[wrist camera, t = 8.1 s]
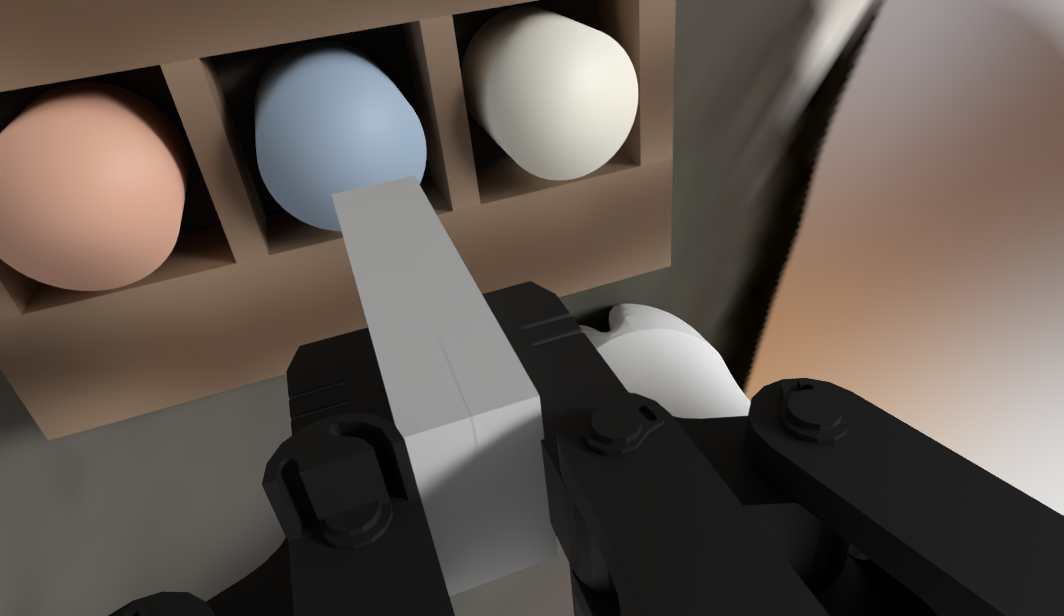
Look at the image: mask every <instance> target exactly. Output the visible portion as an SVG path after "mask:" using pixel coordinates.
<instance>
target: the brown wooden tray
mask: <svg viewBox="0 0 1064 616" xmlns="http://www.w3.org/2000/svg"><path fill="white" fill-rule="evenodd" d="M531 1H537V0H0V92H3V91H9V90H15V89H20V88H26V87H32V86H38V85H44V84H50V83H56V82H61V81H67V80H73V79H79V78H85V77H91V76H97V75H103V74H108V73H114V72H120V71H126V70H132V69H138V68H144V67H149V66H155V65H160V66H161V69H162V71H163V74H164V77H165V79H166V82H167V84H168V87H169V90H170V92H171V95H172V97H173V100H174V102H175V105H176V108H177V110H178V113H179V115H180V118H181V121H182V123H183V126H184V128H185V131H186V133H187V136H188V139H189V141H190V144H191V146H192V149H193V152H194V154H195V157H196V159H197V162H198V165H199V167H200V170H201V172H202V175H203V177H204V180H205V183H206V185H207V188H208V190H209V193H210V196H211V198H212V201H213V203H214V206H215V208H216V211H217V214H218V216H219V219H220V221H221V224H222V226H219V227H215V228H210V229H206V230H201V231H197V232H193V233H188V234H184V235H179V236H178V238H177V241H176V244H175V246H174V248H173V250H172V252H171V253H170V254H169V256H168V257H167V259H166V260H165V261H164V262H163V263H162V264H161V265H160V266H159V267H158V268H157V269H156V270H155V271H153V272H152V273H151V274H149V275H148V276H146V277H144V278H142V279H141V280H139V281H136V282H134V283H132V284H129V285H126V286H122V287H119V288H114V289H109V290H99V291H79V290H70V289H64V288H60V287H55V286H51V285H48V284H45V283H42V282H39V281H37V280H35V279H32V278H30V277H28V276H26V275H24V274H22V273H20V272H19V271H17V270H15V269H14V268H12V267H11V266H9V265H8V264H6V263H5V262H4V261H3V260H2V259H0V370H1V371H2V373H3V374H4V376H5V377H6V379H7V380H8V382H9V383H10V385H11V386H12V388H13V389H14V391H15V392H16V394H17V395H18V397H19V398H20V400H21V401H22V403H23V404H24V406H25V407H26V409H27V410H28V412H29V413H30V414H31V416H32V417H33V419H34V420H35V422H36V423H37V425H38V426H39V428H40V429H41V431H42V432H43V434H44V435H45V437H46V438H47V440H48V441H50V440H53V439H57V438H60V437H64V436H67V435H71V434H75V433H78V432H82V431H85V430H89V429H92V428H96V427H99V426H103V425H107V424H110V423H114V422H117V421H121V420H124V419H128V418H131V417H135V416H139V415H142V414H146V413H149V412H153V411H156V410H160V409H163V408H167V407H171V406H174V405H178V404H181V403H185V402H188V401H192V400H195V399H199V398H203V397H206V396H210V395H213V394H217V393H220V392H224V391H227V390H231V389H235V388H238V387H242V386H245V385H249V384H252V383H256V382H259V381H263V380H266V379H270V378H274V377H277V376H281V375H284V374H287V372H286V371H287V369H288V367H289V365H290V363H291V361H292V359H293V357H294V355H295V353H296V351H297V350H298V348H299V346H301V345H304V344H308V343H312V342H315V341H319V340H323V339H327V338H330V337H334V336H338V335H341V334H345V333H349V332H352V331H356V330H360V329H364V328H367V327H368V324H367V321H366V317H365V313H364V310H363V306H362V303H361V299H360V295H359V292H358V288H357V285H356V281H355V277H354V274H353V270H352V267H351V263H350V259H349V256H348V252H347V249H346V245H345V241H344V238H343V234H342V231H332V230H326V229H321V228H318V227H315V226H312V225H309V224H307V223H305V222H303V221H301V220H299V219H297V218H296V217H294V216H292V215H291V214H290V213H289V212H287V211H285V212H281V213H276V214H272V215H267V216H266V215H265V212H264V209H263V207H262V204H261V201H260V198H259V195H258V192H257V189H256V186H255V183H254V180H253V178H252V175H251V172H250V169H249V166H248V163H247V160H246V157H245V154H244V151H243V149H242V146H241V143H240V140H239V137H238V134H237V131H236V128H235V125H234V122H233V119H232V117H231V114H230V111H229V108H228V105H227V102H226V99H225V96H224V93H223V90H222V88H221V85H220V82H219V79H218V76H217V73H216V70H215V67H214V64H213V61H212V58H211V56H214V55H220V54H226V53H232V52H237V51H243V50H249V49H255V48H261V47H267V46H273V45H279V44H284V43H290V42H296V41H302V40H308V39H314V38H320V37H325V36H331V35H337V34H343V33H349V32H355V31H361V30H366V29H372V28H378V27H384V26H390V25H396V24H403V30H404V35H405V40H406V45H407V51H408V56H409V61H410V67H411V72H412V77H413V82H414V88H415V93H416V98H417V103H418V109H419V114H420V119H421V124H422V128H423V131H424V135H425V140H426V148H427V149H426V151H427V156H428V161H429V167H430V172H431V177H432V178H431V179H426V180H422V181H421V182H420V184H419V185H420V186H421V188H422V190H423V192H424V193H425V195H426V197H427V199H428V200H429V202H430V204H431V206H432V207H433V209H434V211H435V213H436V214H437V216H438V218H439V220H440V222H441V223H442V225H443V227H444V229H445V230H446V232H447V234H448V236H449V237H450V239H451V241H452V243H453V244H454V246H455V248H456V250H457V251H458V253H459V255H460V257H461V258H462V260H463V262H464V264H465V265H466V267H467V269H468V271H469V273H470V274H471V276H472V278H473V280H474V281H475V283H476V285H477V287H478V288H479V290H480V292H481V294H484V293H488V292H491V291H495V290H499V289H503V288H506V287H510V286H514V285H517V284H521V283H525V282H529V281H532V282H534V283H536V284H537V285H539V286H541V287H543V288H545V289H547V290H549V291H551V292H553V293H555V294H556V295H557V297H561V296H565V295H569V294H572V293H576V292H579V291H583V290H586V289H590V288H593V287H597V286H601V285H604V284H608V283H611V282H615V281H618V280H622V279H625V278H629V277H633V276H636V275H640V274H643V273H647V272H650V271H654V270H657V269H661V268H665V267H668V266H671V223H672V168H673V113H674V59H675V4H676V0H597V10H598V30H599V31H601V32H603V33H605V34H607V35H608V36H610V37H611V38H613V39H614V40H615V41H616V42H617V43H618V44H619V45H620V46H621V47H622V48H623V49H624V50H625V52H626V53H627V55H628V56H629V58H630V60H631V62H632V64H633V67H634V70H635V73H636V77H637V83H638V105H637V111H636V115H635V119H634V122H633V125H632V127H631V130H630V132H629V134H628V136H627V138H626V140H625V141H624V143H623V144H622V146H621V147H620V148H619V150H618V151H617V152H616V153H615V154H614V156H613V157H611V158H610V159H609V160H608V161H607V162H606V163H605V164H603V165H602V166H601V167H600V168H598V169H596V170H595V171H593V172H591V173H589V174H587V175H584V176H582V177H578V178H575V179H570V180H548V179H544V178H540V177H538V176H535V175H533V174H531V173H529V172H528V171H526V170H524V169H523V168H522V167H521V166H519V165H518V164H517V163H516V162H515V161H514V160H510V161H506V162H501V163H497V164H492V165H488V166H483V167H479V168H475V164H474V157H473V150H472V144H471V137H470V130H469V124H468V117H467V111H466V104H465V97H464V91H463V84H462V77H461V71H460V64H459V57H458V51H457V44H456V38H455V31H454V24H453V18H452V15H454V14H460V13H466V12H472V11H478V10H484V9H490V8H496V7H501V6H507V5H513V4H519V3H525V2H531Z"/></svg>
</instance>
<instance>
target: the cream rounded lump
mask: <svg viewBox="0 0 1064 616" xmlns="http://www.w3.org/2000/svg"><path fill="white" fill-rule="evenodd" d="M461 77H462V84H463V91H464V97H465V104H466V107H467V109H468V111H469V113H470V114H471V116H472V117H473V119H474V120H475V121H476V122H477V123H478V124H479V125H480V127H481V128H482V129H483V130H484V131H485V132H486V133H487V134H488V135H489V136H490V137H491V138H492V139H493V140H494V141H495V142H496V143H497V144H498V145H499V146H500V147H501V148H502V149H503V150H504V151H505V152H506V153H507V154H508V155H509V156H510V157H511V158H512V159H513V160H514V161H515V162H516V163H517V164H518V165H519V166H521V167H522V168H523V169H524V170H526V171H528V172H529V173H531V174H533V175H535V176H538V177H540V178H544V179H548V180H570V179H575V178H578V177H582V176H584V175H587V174H589V173H591V172H593V171H595V170H596V169H598V168H600V167H601V166H602V165H603V164H605V163H606V162H607V161H608V160H609V159H610V158H611V157H613V156H614V154H615V153H616V152H617V151H618V150H619V148H620V147H621V146H622V144H623V143H624V141H625V140H626V138H627V136H628V134H629V132H630V130H631V127H632V125H633V122H634V119H635V115H636V111H637V105H638V83H637V77H636V73H635V70H634V67H633V64H632V62H631V60H630V58H629V56H628V55H627V53H626V52H625V50H624V49H623V48H622V47H621V46H620V45H619V44H618V43H617V42H616V41H615V40H614V39H613V38H611V37H610V36H608V35H607V34H605V33H603V32H601V31H599V30H596V29H594V28H591V27H589V26H586V25H584V24H581V23H579V22H576V21H574V20H571V19H569V18H566V17H564V16H562V15H559V14H557V13H554V12H552V11H549V10H546V9H544V8H540V7H535V6H518V7H513V8H509V9H507V10H504V11H502V12H500V13H498V14H496V15H494V16H493V17H491V18H490V19H489V20H487V21H486V22H485V23H484V24H483V25H482V26H481V27H480V28H479V29H478V31H477V32H476V33H475V34H474V36H473V37H472V39H471V41H470V43H469V44H468V47H467V49H466V51H465V54H464V58H463V61H462V67H461Z"/></svg>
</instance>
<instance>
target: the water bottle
mask: <svg viewBox="0 0 1064 616" xmlns="http://www.w3.org/2000/svg"><path fill="white" fill-rule="evenodd" d="M608 320H609V327H610V331H609V332H599V331H597V330H595V329H593V328H591V327H588V326H584V325H579V326H580V328H581V330H582V333H585V334H586V336H587V337H588V338H589V340H590V341H591V342H592V344H593V345H594V346H595V348H596V349H597V350H598V352H599V353H600V355H601V356H602V357H603V359H604V360H605V361H606V363H607V364H608V365H609V367H610V368H611V369H612V371H613V372H614V373H615V375H616V376H617V377H618V379H619V380H620V381H621V383H622V384H623V385H624V387H625V388H626V389H627V391H628V392H629V393H637V394H639V395H642V396H645V397H647V398H650V399H652V400H655V401H656V402H658V403H659V404H660V405H661V406H662V407H664V408H665V409H666V410H667V411H668V412H669V413H671V415H672V416H675V417H680V418H699V419H703V418H719V417H734V416H748V412H749V408H750V404H751V402H750V401H749V400H748V398H747V397H746V396H745V394H744V393H743V392H742V391H741V389H740V388H739V387H738V385H737V383H736V382H735V380H734V379H733V377H732V375H731V374H730V372H729V370H728V368H727V366H726V365H725V363H724V361H723V359H722V357H721V356H720V354H719V353H718V352H717V351H716V350H715V349H714V348H713V347H712V346H711V345H710V344H709V343H708V342H707V341H706V340H705V339H704V338H703V337H702V336H701V335H700V334H699V333H698V332H697V331H696V330H694V329H693V328H692V327H691V326H689V325H688V324H687V323H685V322H684V321H682V320H681V319H679V318H677V317H675V316H674V315H672V314H670V313H668V312H665V311H662V310H660V309H657V308H653V307H650V306H645V305H638V304H619V305H616V306H614V307H613V308H612V309H611V311H610V312H609V319H608Z"/></svg>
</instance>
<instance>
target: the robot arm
mask: <svg viewBox="0 0 1064 616" xmlns="http://www.w3.org/2000/svg"><path fill="white" fill-rule="evenodd" d="M331 195H332V198H333V202H334V205H335V209H336V213H337V216H338V220H339V223H340V227H341V231H342V234H343V238H344V241H345V245H346V249H347V252H348V256H349V259H350V263H351V267H352V270H353V274H354V277H355V281H356V285H357V288H358V292H359V295H360V299H361V303H362V306H363V310H364V313H365V317H366V321H367V324H368V327H367V328H364V329H360V330H356V331H352V332H349V333H345V334H341V335H338V336H334V337H330V338H327V339H323V340H319V341H315V342H312V343H308V344H304V345H301V346H299V348H298V350H297V351H296V353H295V355H294V357H293V359H292V361H291V363H290V365H289V367H288V369H287V371H286V372H287V383H288V394H289V399H290V400H289V406H290V416H291V420H292V421H291V428H292V436H291V437H290V438H288V439H287V440H286V441H284V442H283V443H282V444H281V445H280V446H279V448H278V449H277V450H276V452H275V453H274V454H273V456H272V457H271V459H270V460H269V461H268V463H267V465H266V469H265V473H264V478H263V482H262V486H263V488H264V490H265V492H266V495H267V497H268V499H269V501H270V503H271V505H272V508H273V510H274V512H275V514H276V516H277V518H278V520H279V523H280V525H281V527H282V529H283V531H284V533H285V536H286V538H285V540H284V541H283V543H282V544H281V546H280V547H279V548H278V549H277V550H276V551H275V553H274V554H273V555H272V556H271V557H270V558H269V559H268V560H267V561H266V562H265V563H264V564H262V565H261V566H260V567H258V568H257V569H256V570H254V571H253V572H252V573H250V574H249V575H248V576H246V577H245V578H243V579H241V580H240V581H238V582H237V583H235V584H234V585H232V586H230V587H229V588H227V589H226V590H224V591H222V592H221V593H219V594H218V595H216V596H214V597H213V598H211V599H210V600H208V601H207V602H205V601H203V600H201V599H199V598H198V597H196V596H194V595H192V594H190V593H189V592H160V593H157V594H153V595H150V596H147V597H143V598H140V599H137V600H134V601H132V602H130V603H128V604H127V605H125V606H123V607H122V608H120V609H118V610H117V611H115V612H113V613H112V614H110V615H108V616H455V615H454V611H453V608H452V604H451V601H450V596H452V595H455V594H458V593H460V592H463V591H466V590H468V589H471V588H474V587H476V586H479V585H482V584H484V583H487V582H490V581H493V580H495V579H498V578H501V577H503V576H506V575H509V574H511V573H514V572H517V571H519V570H522V569H525V568H527V567H530V566H533V565H535V564H538V563H541V562H544V561H546V560H549V559H552V558H554V557H557V556H558V553H557V545H556V536H557V538H558V540H559V542H560V544H561V546H562V548H563V550H564V552H565V555H566V557H567V559H568V561H569V565H570V575H571V585H572V595H573V605H574V614H575V616H1064V516H1063V515H1061V514H1060V513H1058V512H1056V511H1054V510H1053V509H1051V508H1049V507H1048V506H1046V505H1044V504H1042V503H1041V502H1039V501H1037V500H1036V499H1034V498H1032V497H1030V496H1029V495H1027V494H1025V493H1024V492H1022V491H1020V490H1019V489H1017V488H1015V487H1013V486H1012V485H1010V484H1008V483H1006V482H1005V481H1003V480H1001V479H1000V478H998V477H996V476H995V475H993V474H991V473H989V472H988V471H986V470H984V469H983V468H981V467H979V466H978V465H976V464H974V463H973V462H971V461H969V460H967V459H966V458H964V457H962V456H960V455H959V454H957V453H955V452H954V451H952V450H950V449H948V448H947V447H945V446H943V445H942V444H940V443H938V442H937V441H935V440H933V439H932V438H930V437H928V436H926V435H925V434H923V433H921V432H920V431H918V430H916V429H914V428H913V427H911V426H909V425H908V424H906V423H904V422H902V421H901V420H899V419H897V418H895V417H894V416H892V415H890V414H889V413H887V412H885V411H884V410H882V409H880V408H879V407H877V406H875V405H873V404H872V403H870V402H868V401H867V400H865V399H863V398H862V397H860V396H858V395H856V394H855V393H853V392H851V391H849V390H847V389H844V388H842V387H839V386H837V385H835V384H832V383H830V382H826V381H820V380H814V379H808V378H797V379H782V380H780V381H777V382H774V383H772V384H769V385H766V386H764V387H763V388H762V389H761V390H760V391H759V392H758V393H757V394H756V395H755V396H753V398H752V400H751V404H750V408H749V412H748V416H734V417H719V418H703V419H699V418H680V417H675V416H672V415H671V413H669V412H668V411H667V410H666V409H665V408H664V407H662V406H661V405H660V404H659V403H658V402H656V401H655V400H652V399H650V398H647V397H645V396H642V395H639V394H637V393H629V392H628V391H627V389H626V388H625V387H624V385H623V384H622V383H621V381H620V380H619V379H618V377H617V376H616V375H615V373H614V372H613V371H612V369H611V368H610V367H609V365H608V364H607V363H606V361H605V360H604V359H603V357H602V356H601V355H600V353H599V352H598V350H597V349H596V348H595V346H594V345H593V344H592V342H591V341H590V340H589V338H588V337H587V336H586V334H585V333H582V330H581V328H580V326H579V325H578V324H577V322H576V321H575V320H574V318H573V317H570V313H569V311H568V310H567V309H566V307H565V306H564V305H563V303H562V302H561V301H560V299H559V298H558V297H557V295H556V294H555V293H553V292H551V291H549V290H547V289H545V288H543V287H541V286H539V285H537V284H536V283H534V282H532V281H529V282H525V283H521V284H517V285H514V286H510V287H506V288H503V289H499V290H495V291H491V292H488V293H484V294H481V292H480V290H479V288H478V287H477V285H476V283H475V281H474V280H473V278H472V276H471V274H470V273H469V271H468V269H467V267H466V265H465V264H464V262H463V260H462V258H461V257H460V255H459V253H458V251H457V250H456V248H455V246H454V244H453V243H452V241H451V239H450V237H449V236H448V234H447V232H446V230H445V229H444V227H443V225H442V223H441V222H440V220H439V218H438V216H437V214H436V213H435V211H434V209H433V207H432V206H431V204H430V202H429V200H428V199H427V197H426V195H425V193H424V192H423V190H422V188H421V186H420V185H419V183H418V181H417V179H416V178H415V176H411V177H406V178H402V179H397V180H393V181H388V182H384V183H379V184H375V185H370V186H366V187H361V188H357V189H352V190H348V191H343V192H339V193H334V194H331ZM555 533H556V536H555Z"/></svg>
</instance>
